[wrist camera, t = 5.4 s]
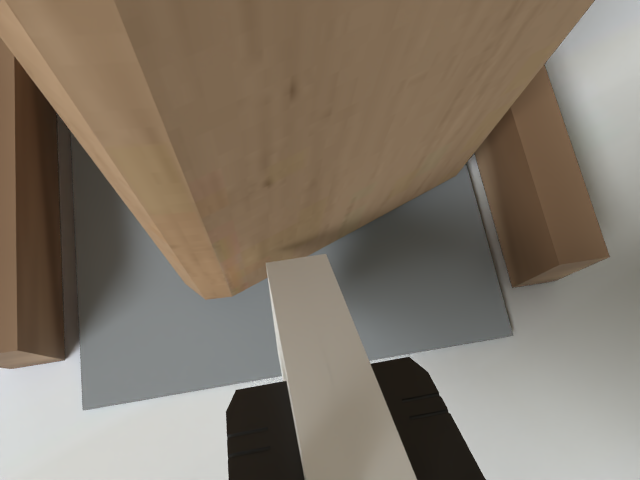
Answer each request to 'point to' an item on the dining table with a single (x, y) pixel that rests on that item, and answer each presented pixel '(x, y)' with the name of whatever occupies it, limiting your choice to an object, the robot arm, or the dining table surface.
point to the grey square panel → (255, 303)
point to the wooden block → (277, 109)
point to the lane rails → (492, 156)
